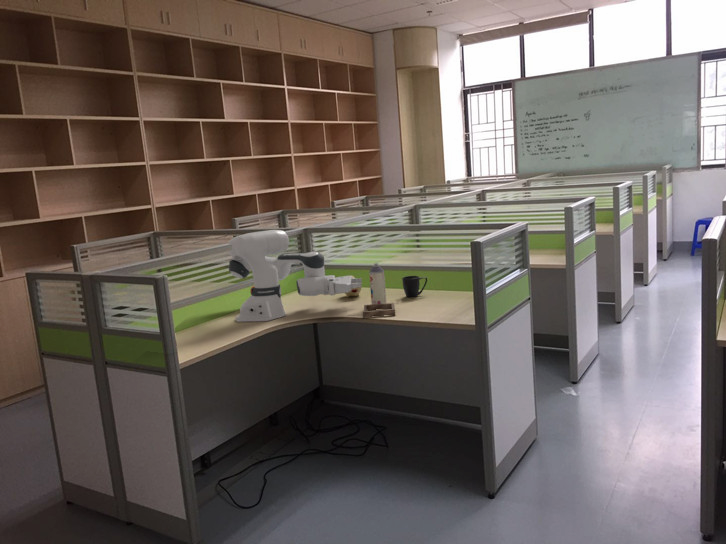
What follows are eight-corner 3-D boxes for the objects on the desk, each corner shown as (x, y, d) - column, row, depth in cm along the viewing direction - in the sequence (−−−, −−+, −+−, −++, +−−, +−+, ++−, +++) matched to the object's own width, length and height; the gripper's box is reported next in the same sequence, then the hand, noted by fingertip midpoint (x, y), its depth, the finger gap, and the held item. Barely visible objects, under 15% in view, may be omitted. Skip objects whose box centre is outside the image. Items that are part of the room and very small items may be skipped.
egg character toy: (346, 300, 302) (344, 278, 300) (340, 295, 313) (338, 275, 311) (365, 297, 304) (363, 276, 303) (359, 293, 316) (357, 272, 314)
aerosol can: (371, 305, 286) (368, 262, 283) (386, 304, 286) (383, 261, 283) (371, 308, 280) (368, 265, 276) (386, 307, 279) (383, 264, 276)
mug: (429, 296, 294) (428, 277, 293) (404, 299, 294) (403, 279, 292) (426, 293, 302) (425, 274, 301) (402, 295, 302) (401, 276, 300)
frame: (364, 317, 264) (363, 311, 263) (364, 310, 277) (364, 305, 276) (395, 315, 263) (395, 309, 263) (394, 308, 276) (393, 302, 276)
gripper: (333, 286, 293) (362, 284, 293) (330, 296, 273) (361, 294, 273) (332, 273, 292) (361, 271, 292) (329, 282, 272) (360, 280, 272)
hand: (361, 282), depth 282 cm, fingers open, 8 cm apart
